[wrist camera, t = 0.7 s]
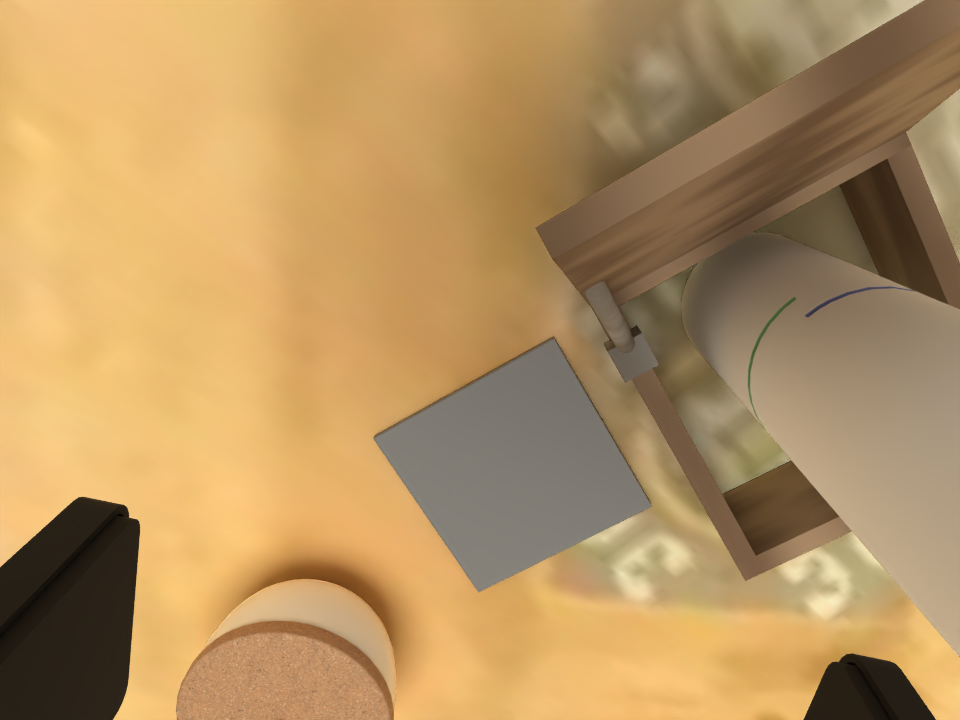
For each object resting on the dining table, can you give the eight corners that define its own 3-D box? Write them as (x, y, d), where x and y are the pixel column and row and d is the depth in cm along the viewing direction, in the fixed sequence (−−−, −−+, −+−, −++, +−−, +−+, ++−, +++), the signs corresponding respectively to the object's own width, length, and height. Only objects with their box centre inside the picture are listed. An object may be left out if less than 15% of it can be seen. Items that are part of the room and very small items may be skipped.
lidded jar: (203, 659, 46) (132, 791, 37) (264, 516, 43) (202, 623, 34) (367, 723, 47) (337, 865, 38) (438, 588, 44) (423, 709, 35)
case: (785, 3, 34) (1205, -162, 14) (956, 398, 40) (1435, 691, 19) (509, 170, 37) (523, 236, 16) (706, 520, 42) (899, 892, 22)
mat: (553, 336, 39) (554, 338, 39) (650, 502, 42) (651, 506, 41) (374, 435, 41) (373, 438, 41) (478, 588, 44) (478, 592, 43)
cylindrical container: (846, 328, 39) (1410, 670, 15) (717, 393, 40) (1045, 807, 16) (790, 204, 37) (1330, 367, 13) (657, 277, 38) (925, 546, 14)
